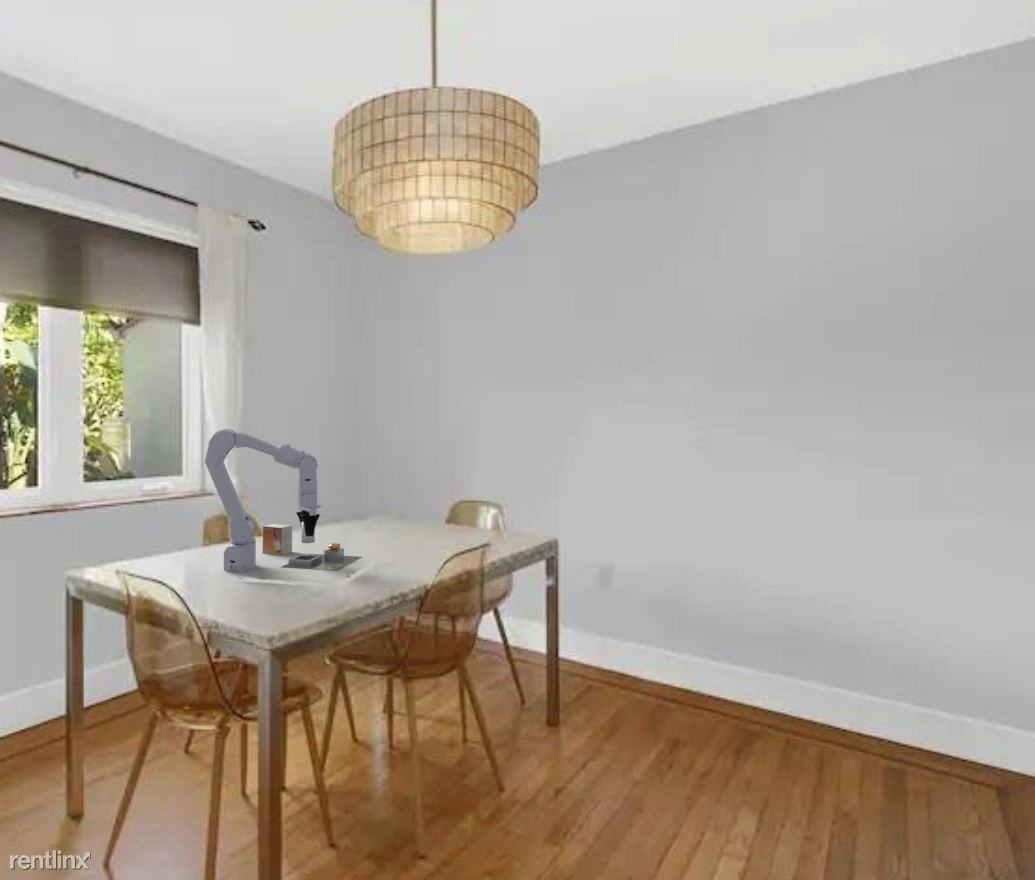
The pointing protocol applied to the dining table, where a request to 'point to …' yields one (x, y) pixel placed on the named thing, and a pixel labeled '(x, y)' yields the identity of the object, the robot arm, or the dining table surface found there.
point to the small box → (277, 539)
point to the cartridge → (306, 538)
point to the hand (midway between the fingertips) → (307, 534)
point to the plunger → (334, 546)
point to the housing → (322, 561)
